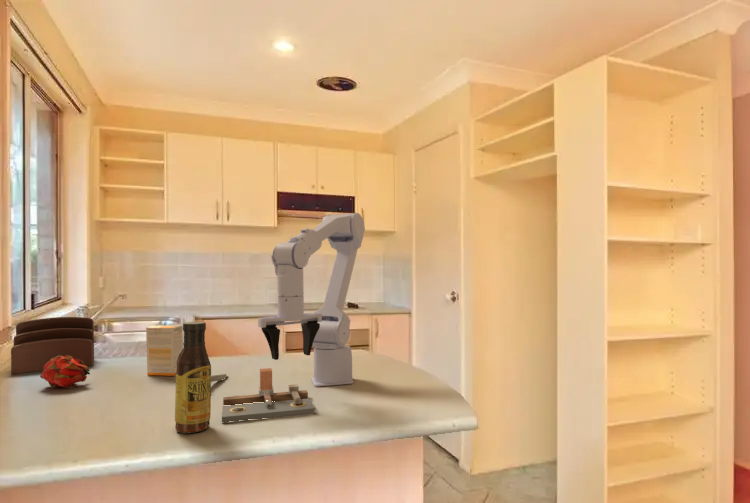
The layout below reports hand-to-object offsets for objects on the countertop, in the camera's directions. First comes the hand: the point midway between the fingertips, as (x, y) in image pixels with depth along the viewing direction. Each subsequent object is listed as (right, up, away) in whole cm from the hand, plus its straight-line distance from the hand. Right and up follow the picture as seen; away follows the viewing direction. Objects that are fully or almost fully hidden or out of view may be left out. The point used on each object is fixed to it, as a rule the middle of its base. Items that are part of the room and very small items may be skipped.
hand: (291, 356), depth 111 cm
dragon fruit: (-58, -10, +12) cm, 60 cm away
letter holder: (-75, -11, +35) cm, 83 cm away
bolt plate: (-3, -10, -10) cm, 14 cm away
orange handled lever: (-4, -8, -5) cm, 10 cm away
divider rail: (-4, -10, -6) cm, 12 cm away
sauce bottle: (-15, -10, -18) cm, 26 cm away
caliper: (-22, -10, +10) cm, 26 cm away
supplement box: (-38, -10, +24) cm, 46 cm away
